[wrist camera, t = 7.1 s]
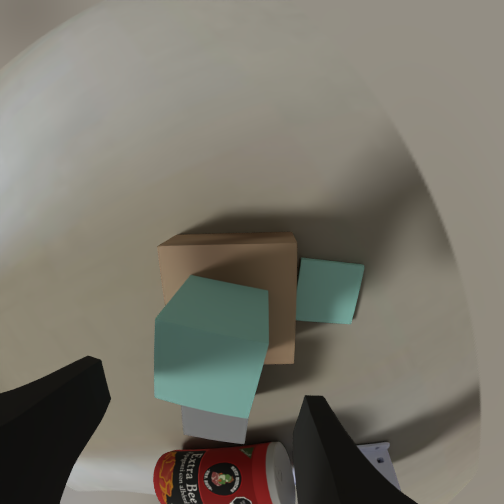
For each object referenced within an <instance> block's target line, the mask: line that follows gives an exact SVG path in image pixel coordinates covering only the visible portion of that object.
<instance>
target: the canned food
mask: <svg viewBox="0 0 504 504" xmlns="http://www.w3.org/2000/svg"><path fill="white" fill-rule="evenodd" d="M153 482H154V489H155V493H156V495H157V497H158V500H159V501H160V503H161V504H295V483H294V476H293V471H292V467H291V463H290V460H289V456H288V454H287V451H286V449H285V448H284V446H283V445H282V444H281V443H280V442H269V443H262V444H254V445H246V446H237V447H227V448H215V449H195V450H173V451H170V452H167V453H165V454H163V455H162V456H161V457H160V458H159V460H158V461H157V464H156V466H155V470H154V477H153Z"/></svg>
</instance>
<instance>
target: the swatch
mask: <svg viewBox="0 0 504 504" xmlns="http://www.w3.org/2000/svg"><path fill="white" fill-rule="evenodd" d="M364 267H365V266H364V265H363V264H355V263H346V262H337V261H328V260H319V259H310V258H301V261H300V267H299V274H298V280H297V294H296V320H299V321H311V322H325V323H341V324H351V322H352V318H353V314H354V310H355V306H356V302H357V298H358V294H359V290H360V285H361V281H362V276H363V272H364Z"/></svg>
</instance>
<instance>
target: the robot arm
mask: <svg viewBox="0 0 504 504" xmlns="http://www.w3.org/2000/svg"><path fill="white" fill-rule="evenodd" d="M110 400H111V397H110V393H109V390H108V386H107V382H106V378H105V374H104V370H103V366H102V361H101V360H100V359H97V358H94V357H91V356H86V357H84V358H82V359H80V360H77V361H75V362H73V363H71V364H69V365H67V366H65V367H63V368H61V369H59V370H57V371H55V372H53V373H51V374H49V375H47V376H45V377H43V378H40V379H38V380H36V381H33V382H31V383H29V384H26V385H24V386H21V387H19V388H16V389H13V390H10V391H7V392H3V393H0V504H60V500H61V497H62V494H63V491H64V488H65V485H66V483H67V480H68V478H69V475H70V473H71V471H72V468H73V466H74V464H75V462H76V461H77V459H78V457H79V455H80V454H81V452H82V451H83V449H84V447H85V446H86V444H87V443H88V441H89V440H90V438H91V436H92V435H93V433H94V432H95V430H96V428H97V427H98V425H99V424H100V422H101V420H102V418H103V416H104V414H105V412H106V410H107V407H108V405H109V403H110ZM389 446H390V444H389V442H382V443H374V444H366V445H356V444H355V443H354V442H353V440H352V439H351V437H350V436H349V435H348V433H347V432H346V431H345V429H344V428H343V426H342V425H341V423H340V422H339V420H338V419H337V417H336V416H335V414H334V412H333V411H332V409H331V408H330V406H329V404H328V403H327V401H326V399H325V398H324V397H323V396H309V395H305V397H304V400H303V403H302V407H301V410H300V413H299V416H298V419H297V422H296V425H295V428H294V431H293V463H294V467H293V469H292V471H293V476H294V483H295V485H296V489H297V498H298V504H418V503H416V502H415V501H413V500H412V499H411V498H409V497H408V496H406V495H405V494H404V493H402V492H401V489H400V486H399V483H398V479H397V476H396V473H395V470H394V467H393V464H392V462H391V459H390V456H389V453H388V450H387V449H388V448H389Z"/></svg>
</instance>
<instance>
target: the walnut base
mask: <svg viewBox="0 0 504 504" xmlns="http://www.w3.org/2000/svg"><path fill="white" fill-rule="evenodd" d="M157 247H158V256H159V265H160V273H161V280H162V288H163V294H164V301H165V306H166V305H167V303H168V302H169V301H170V300H171V298H172V297H173V296H174V295H175V293H176V292H177V291H178V290H179V288H180V287H181V286H182V285H183V284H184V282H185V281H186V280H187V279H188V277H189V276H190V275H194V276H199V277H203V278H208V279H213V280H218V281H223V282H227V283H232V284H237V285H242V286H247V287H253V288H258V289H263V290H268V304H269V345H268V349H267V353H266V356H265V360H264V364H294V350H295V327H296V294H297V242H296V240H295V237H294V235H293V233H292V232H258V233H218V234H186V235H175V236H174V237H172V238H170V239H169V240H167V241H165V242H164V243H162V244H160V245H159V246H157Z"/></svg>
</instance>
